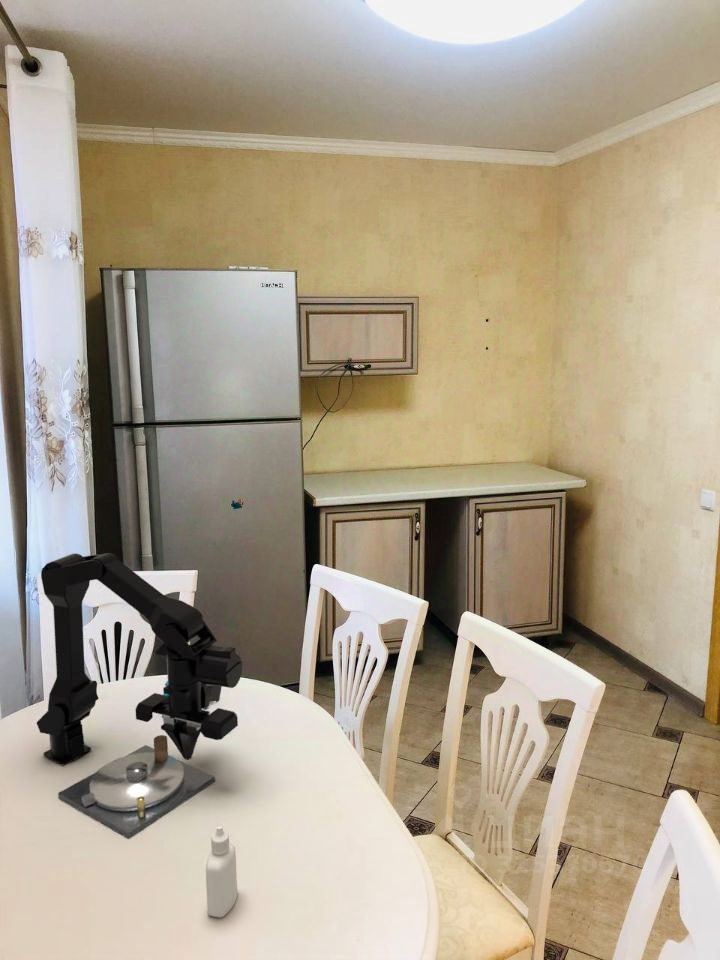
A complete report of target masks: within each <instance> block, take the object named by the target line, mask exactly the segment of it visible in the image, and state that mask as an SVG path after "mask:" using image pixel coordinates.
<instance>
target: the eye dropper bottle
mask: <svg viewBox="0 0 720 960" xmlns="http://www.w3.org/2000/svg"><path fill="white" fill-rule="evenodd" d="M210 842H211V844H210V845H211V850H210V852H209V855H208V856H207V860H206V864H205V880H206V881H205V882H206V883H205V885H206V886H205V887H206V907H207V908H206V909H207V914H208V916H210V917H215V918H223V917H224V916H226V915H227V914H228V913H229V912H230V911H231V910H232V908H233V907H234V905H235V903H236V901H237V898H238V897H237V896H238V880H237V878H238V877H237V876H238V875H237V855H236V851H237V850H236V846H235V845H234V844H232V843H230V835H229V833H228V832H226V831H224V829H223V826H222V825H218V826H217V827H216V832H214V833H213V834H212V835H211V836H210Z"/></svg>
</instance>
